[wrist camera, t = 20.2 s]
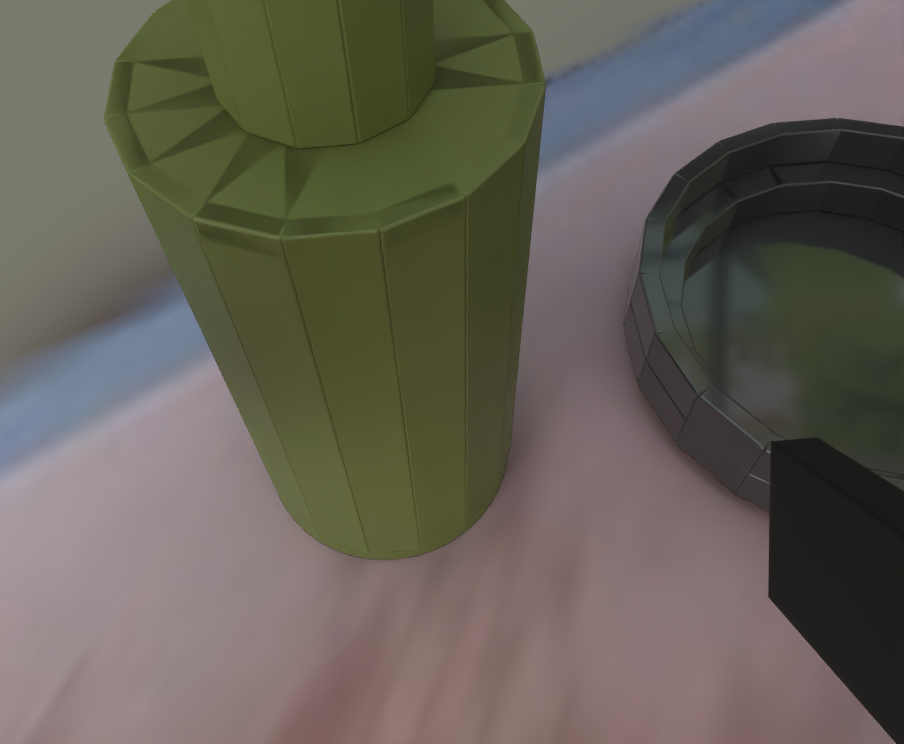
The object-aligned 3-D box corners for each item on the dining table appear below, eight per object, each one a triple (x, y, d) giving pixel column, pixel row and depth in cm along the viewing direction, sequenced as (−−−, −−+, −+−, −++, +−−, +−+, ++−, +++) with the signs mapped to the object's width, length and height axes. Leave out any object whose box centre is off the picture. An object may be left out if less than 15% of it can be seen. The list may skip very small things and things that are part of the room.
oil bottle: (492, 340, 26) (524, -344, 12) (522, 547, 22) (624, -70, 8) (274, 359, 26) (32, -316, 11) (269, 571, 22) (-93, -22, 8)
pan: (956, 176, 30) (1006, 104, 27) (1159, 527, 23) (1254, 477, 20) (588, 206, 29) (600, 135, 26) (678, 574, 22) (708, 529, 19)
